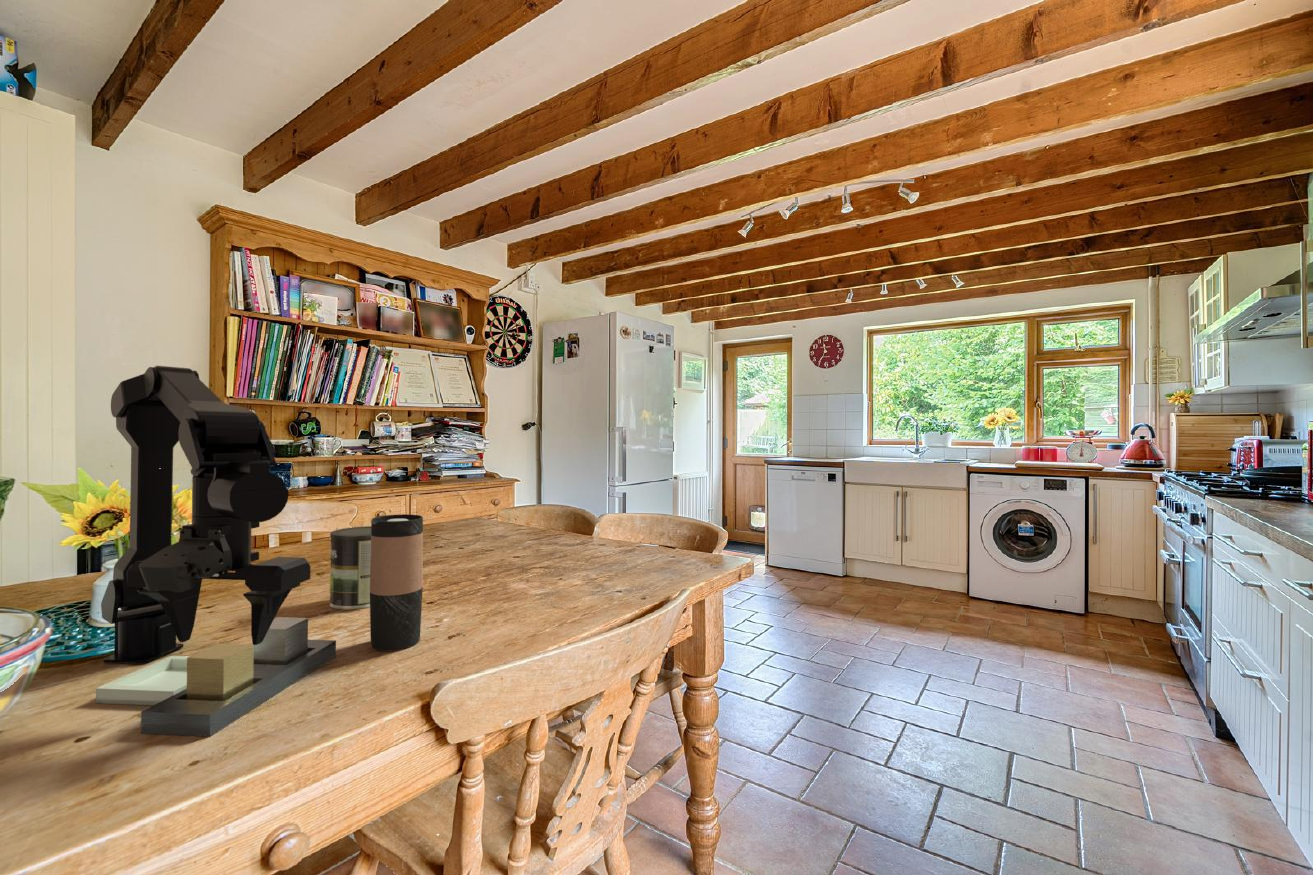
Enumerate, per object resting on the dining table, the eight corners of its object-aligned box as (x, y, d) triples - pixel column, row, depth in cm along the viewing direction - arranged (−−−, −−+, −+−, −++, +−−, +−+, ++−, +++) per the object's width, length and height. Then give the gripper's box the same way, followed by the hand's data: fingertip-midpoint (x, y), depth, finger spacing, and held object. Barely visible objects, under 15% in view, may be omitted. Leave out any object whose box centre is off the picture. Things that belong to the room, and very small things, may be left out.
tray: (95, 703, 68) (95, 688, 68) (171, 668, 78) (171, 655, 78) (173, 706, 68) (173, 691, 68) (239, 671, 78) (239, 658, 78)
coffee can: (326, 612, 103) (327, 536, 103) (332, 597, 112) (333, 527, 112) (388, 606, 107) (389, 533, 107) (389, 592, 116) (389, 525, 116)
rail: (140, 733, 61) (141, 711, 61) (284, 654, 83) (284, 638, 83) (210, 736, 61) (210, 714, 61) (335, 656, 83) (335, 640, 83)
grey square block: (252, 679, 75) (253, 628, 75) (277, 665, 80) (277, 617, 80) (284, 681, 75) (285, 629, 75) (307, 667, 79) (307, 618, 79)
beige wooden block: (186, 717, 65) (186, 657, 65) (218, 699, 70) (219, 643, 70) (223, 719, 65) (223, 659, 65) (253, 700, 69) (253, 644, 69)
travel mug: (429, 634, 93) (430, 514, 92) (410, 652, 85) (412, 521, 85) (382, 634, 92) (384, 513, 92) (359, 652, 85) (361, 521, 85)
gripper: (76, 522, 60) (75, 667, 60) (243, 527, 59) (242, 674, 59) (172, 508, 71) (171, 630, 71) (314, 512, 70) (312, 636, 70)
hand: (221, 642), depth 67 cm, fingers open, 9 cm apart
